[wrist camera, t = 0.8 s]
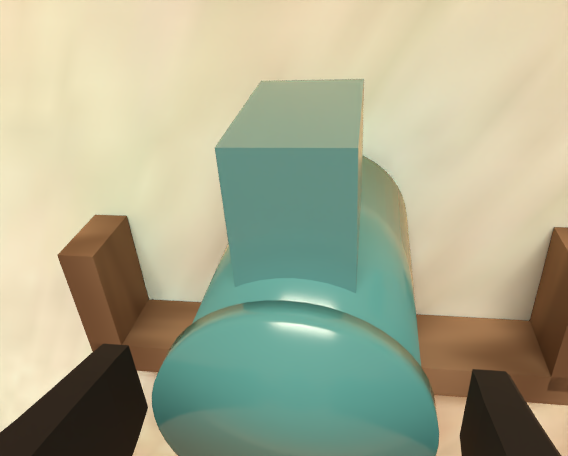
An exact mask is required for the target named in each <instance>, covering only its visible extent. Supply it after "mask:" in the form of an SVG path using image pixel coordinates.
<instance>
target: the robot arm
mask: <svg viewBox="0 0 568 456" xmlns="http://www.w3.org/2000/svg"><path fill="white" fill-rule="evenodd" d="M147 409H148V406H147V403H146V399H145V396H144V393H143V390H142V386H141V383H140V380H139V377H138V374H137V370H136V367H135V364H134V361H133V357H132V354H131V351H130V348H129V345H117V344H102V345H101V346H100V347H98V348H97V349H96V350H95V351H94V352H93V353H91V354H90V355H89V356H88V357H87V358H86V359H85V360H83V361H82V362H81V363H80V364H79V365H78V366H77V367H76V368H74V369H73V370H72V371H71V372H70V373H69V374H68V375H67V376H66V377H64V378H63V379H62V380H61V381H60V382H59V383H58V384H57V385H55V386H54V387H53V388H52V389H51V390H50V391H49V392H47V393H46V394H45V395H44V396H43V397H42V398H41V399H39V400H38V401H37V402H36V403H35V404H34V405H33V406H31V407H30V408H29V409H28V410H27V411H26V412H24V413H23V414H22V415H21V416H20V417H19V418H18V419H16V420H15V421H14V422H13V423H11V424H10V425H9V426H8V427H7V428H5V429H4V430H3V431H2V432H0V456H132V455H133V452H134V450H135V447H136V444H137V441H138V438H139V435H140V432H141V428H142V425H143V422H144V419H145V415H146V412H147ZM460 442H461V452H462V456H561V455H560V453H559V452H558V450H557V449H556V447H555V446H554V444H553V443H552V442H551V440H550V439H549V437H548V436H547V434H546V432H545V431H544V429H543V428H542V426H541V425H540V423H539V422H538V420H537V419H536V417H535V416H534V414H533V412H532V411H531V409H530V408H529V406H528V405H527V403H526V401H525V400H524V398H523V396H522V395H521V393H520V391H519V390H518V388H517V386H516V385H515V383H514V381H513V380H512V378H511V376H510V375H509V374H508V373H507V372H506V371H495V370H481V369H472V374H471V380H470V385H469V390H468V395H467V400H466V406H465V411H464V416H463V421H462V426H461V432H460Z"/></svg>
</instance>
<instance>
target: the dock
mask: <svg viewBox="0 0 568 456" xmlns="http://www.w3.org/2000/svg"><path fill="white" fill-rule="evenodd" d="M58 258H59V261H60V264H61V266H62V269H63V272H64V275H65V277H66V280H67V283H68V285H69V288H70V291H71V294H72V296H73V299H74V302H75V305H76V307H77V310H78V313H79V315H80V318H81V321H82V324H83V326H84V329H85V332H86V335H87V337H88V340H89V343H90V346H91V348H92V351H93V352H94V351H95V350H96V349H97V348H98V347H100V346H101V345H102V344H117V345H129V348H130V351H131V354H132V357H133V361H134V364H135V367H136V370H139V371H151V372H159V370H160V368H161V366H162V364H163V361H164V359H165V357H166V355H167V353H168V351H169V349H170V347H171V346H172V344H173V343H174V341H175V340H176V338H177V337H178V336H179V335H180V334H181V333H182V332H183V331H184V330H185V329H186V328H187V327H188V326H190V325H191V324H192V323H193V320H194V318H195V316H196V314H197V311H198V309H199V307H200V305H201V303H202V302H184V301H166V300H149V299H148V295H147V291H146V288H145V284H144V280H143V276H142V273H141V269H140V265H139V261H138V257H137V254H136V250H135V246H134V242H133V239H132V235H131V231H130V227H129V223H128V220H127V216H113V215H95V216H94V217H93V218H92V219H91V220H90V221H89V222H88V223H87V224H86V225H85V226H84V227H83V228H82V229H81V231H80V232H79V233H78V234H77V235H76V236H75V237H74V238H73V239H72V240H71V241H70V242H69V243H68V244H67V246H66V247H65V248H64V249H63V250H62V251H61V252H60V253H59V254H58ZM416 318H417V328H418V339H419V349H420V359H421V367H422V369H423V371H424V372H425V374H426V376H427V378H428V379H429V382H430V384H431V387H432V390H433V393H434V395H446V396H458V397H467V395H468V390H469V385H470V380H471V374H472V369H481V370H495V371H506V372H507V373H508V374H509V375H510V376H511V378H512V380H513V381H514V383H515V385H516V386H517V388H518V390H519V391H520V393H521V395H522V396H523V398H524V400H525V401H526V402H532V403H544V404H557V405H568V228H561V227H554V230H553V234H552V238H551V242H550V246H549V250H548V254H547V257H546V261H545V265H544V269H543V273H542V277H541V281H540V284H539V288H538V292H537V296H536V300H535V304H534V308H533V311H532V315H531V319H530V321H523V320H505V319H488V318H470V317H452V316H434V315H416Z"/></svg>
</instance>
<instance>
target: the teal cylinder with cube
mask: <svg viewBox="0 0 568 456" xmlns="http://www.w3.org/2000/svg"><path fill="white" fill-rule="evenodd" d="M363 101H364V79H342V80H292V81H261V82H260V83H259V85H258V86H257V88H256V89H255V90H254V92H253V93H252V95H251V96H250V98H249V99H248V100H247V102H246V103H245V105H244V106H243V108H242V109H241V111H240V112H239V113H238V115H237V116H236V118H235V119H234V121H233V122H232V124H231V125H230V126H229V128H228V129H227V131H226V132H225V134H224V135H223V137H222V138H221V139H220V141H219V142H218V144H217V145H216V147H215V152H216V159H217V166H218V173H219V180H220V187H221V194H222V201H223V208H224V214H225V221H226V228H227V235H228V242H229V243H228V245H227V247H226V250H225V252H224V254H223V256H222V258H221V261H220V263H219V265H218V267H217V269H216V272H215V274H214V276H213V278H212V280H211V283H210V285H209V287H208V289H207V292H206V294H205V296H204V298H203V300H202V303H201V305H200V307H199V309H198V311H197V314H196V316H195V318H194V320H193V323H192V324H191V325H190V326H188V327H187V328H186V329H185V330H184V331H183V332H182V333H181V334H180V335H179V336H178V337H177V338H176V340H175V341H174V343H173V344H172V346H171V347H170V349H169V351H168V353H167V355H166V357H165V359H164V361H163V364H162V366H161V368H160V370H159V372H158V374H157V377H156V379H155V382H154V386H153V391H152V408H153V412H154V417H155V420H156V422H157V425H158V428H159V430H160V432H161V433H162V435H163V437H164V438H165V440H166V442H167V443H168V444H169V445H170V447H171V448H172V449H173V451H174V452H175V453H176V454H177V455H178V456H436V453H437V449H438V443H439V429H438V421H437V412H436V404H435V398H434V393H433V390H432V387H431V384H430V382H429V379H428V378H427V376H426V374H425V372H424V371H423V369H422V367H421V359H420V349H419V339H418V328H417V318H416V308H415V297H414V287H413V277H412V266H411V256H410V246H409V235H408V225H407V214H406V208H405V203H404V200H403V197H402V194H401V192H400V190H399V188H398V186H397V185H396V183H395V182H394V181H393V179H392V178H391V177H390V176H389V175H388V173H387V172H386V171H385V170H384V169H382V168H381V167H380V166H379V165H378V164H376V163H375V162H373V161H372V160H370V159H368V158H367V157H364V156H362V149H363Z"/></svg>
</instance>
